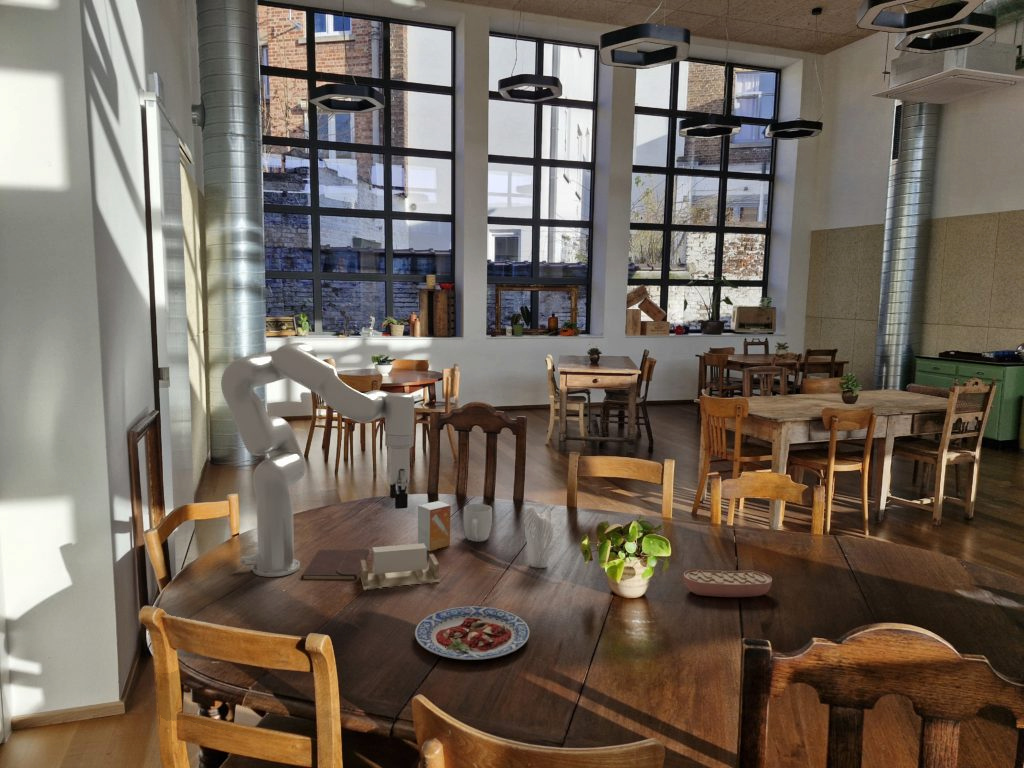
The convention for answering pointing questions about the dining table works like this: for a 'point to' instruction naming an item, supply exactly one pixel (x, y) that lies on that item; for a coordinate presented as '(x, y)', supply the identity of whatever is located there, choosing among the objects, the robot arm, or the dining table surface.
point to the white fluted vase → (538, 536)
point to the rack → (400, 576)
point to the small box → (434, 525)
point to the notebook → (336, 564)
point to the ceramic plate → (472, 633)
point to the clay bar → (399, 558)
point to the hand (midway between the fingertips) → (398, 502)
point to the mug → (477, 521)
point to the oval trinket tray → (727, 583)
